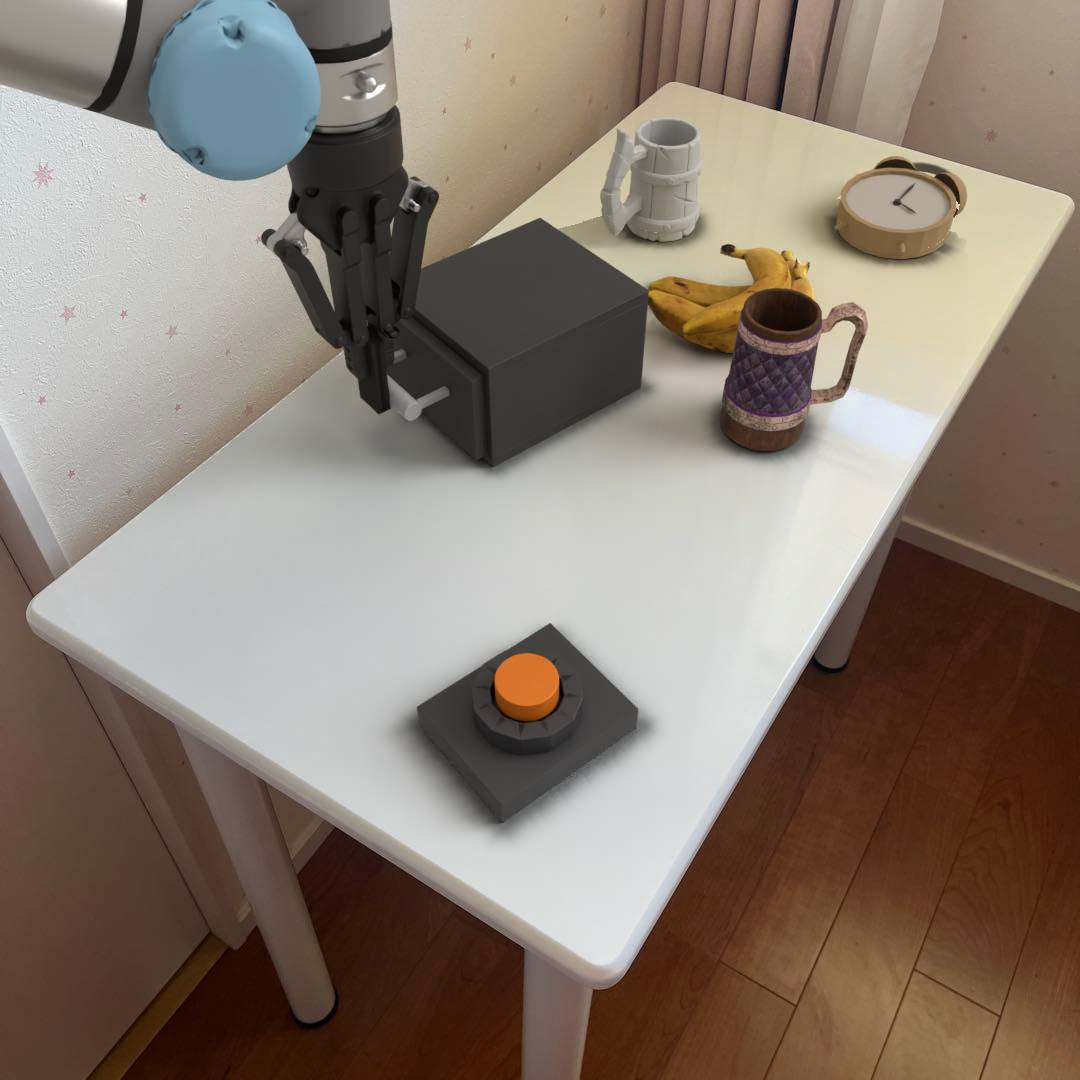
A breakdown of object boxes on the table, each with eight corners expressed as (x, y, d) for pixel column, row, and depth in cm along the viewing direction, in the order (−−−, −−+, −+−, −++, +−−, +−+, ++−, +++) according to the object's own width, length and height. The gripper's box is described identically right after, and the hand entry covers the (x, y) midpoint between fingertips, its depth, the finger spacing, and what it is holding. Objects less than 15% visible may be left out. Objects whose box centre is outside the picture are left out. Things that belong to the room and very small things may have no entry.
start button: (521, 733, 67) (520, 717, 66) (482, 690, 70) (481, 674, 68) (571, 699, 69) (572, 682, 68) (532, 659, 71) (532, 642, 70)
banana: (844, 289, 105) (856, 236, 101) (755, 396, 95) (765, 342, 90) (702, 240, 111) (708, 188, 107) (603, 336, 100) (606, 282, 96)
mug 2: (719, 452, 90) (739, 332, 81) (716, 396, 95) (734, 276, 86) (847, 458, 89) (880, 337, 80) (837, 401, 94) (867, 281, 85)
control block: (502, 823, 67) (500, 789, 64) (419, 725, 72) (413, 690, 69) (636, 728, 72) (640, 692, 69) (550, 642, 77) (550, 605, 74)
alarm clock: (818, 210, 109) (891, 128, 115) (813, 248, 113) (885, 167, 119) (923, 248, 105) (994, 161, 111) (915, 287, 109) (984, 201, 115)
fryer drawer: (431, 484, 86) (423, 405, 80) (344, 401, 93) (331, 323, 87) (615, 387, 94) (620, 308, 88) (523, 317, 101) (521, 240, 95)
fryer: (493, 467, 89) (488, 368, 81) (396, 381, 96) (384, 283, 89) (641, 387, 95) (649, 290, 88) (540, 313, 103) (540, 217, 96)
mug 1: (714, 226, 113) (728, 113, 104) (626, 266, 108) (633, 152, 99) (664, 195, 117) (673, 84, 108) (577, 233, 112) (579, 120, 103)
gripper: (278, 161, 64) (330, 462, 81) (456, 101, 70) (469, 395, 87) (218, 114, 68) (279, 410, 85) (391, 61, 74) (416, 349, 91)
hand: (375, 402), depth 86 cm, fingers closed
